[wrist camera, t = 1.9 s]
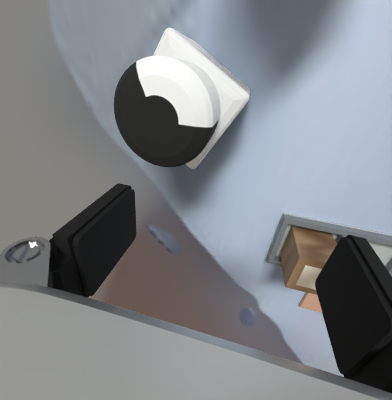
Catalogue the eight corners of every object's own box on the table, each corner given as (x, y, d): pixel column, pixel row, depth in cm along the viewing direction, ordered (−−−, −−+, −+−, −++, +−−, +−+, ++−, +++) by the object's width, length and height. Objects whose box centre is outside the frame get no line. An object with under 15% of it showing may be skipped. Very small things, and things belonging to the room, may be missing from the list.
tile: (356, 290, 32) (357, 293, 31) (338, 313, 35) (339, 317, 34) (313, 279, 33) (314, 283, 32) (299, 303, 36) (300, 307, 35)
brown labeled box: (331, 233, 28) (349, 269, 23) (316, 260, 30) (329, 298, 25) (291, 225, 29) (299, 258, 23) (280, 252, 31) (285, 287, 26)
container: (208, 148, 26) (175, 200, 15) (156, 107, 25) (82, 131, 14) (252, 90, 22) (251, 105, 11) (192, 39, 21) (128, 1, 10)
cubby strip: (411, 238, 26) (418, 245, 25) (376, 281, 30) (381, 289, 29) (283, 212, 28) (284, 218, 27) (267, 255, 32) (267, 262, 31)
